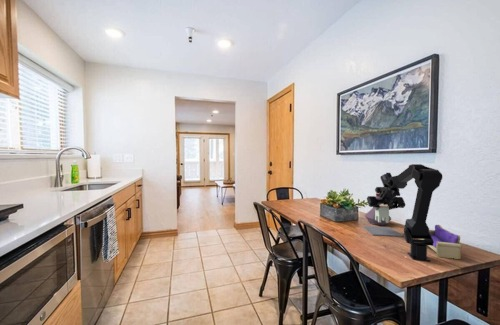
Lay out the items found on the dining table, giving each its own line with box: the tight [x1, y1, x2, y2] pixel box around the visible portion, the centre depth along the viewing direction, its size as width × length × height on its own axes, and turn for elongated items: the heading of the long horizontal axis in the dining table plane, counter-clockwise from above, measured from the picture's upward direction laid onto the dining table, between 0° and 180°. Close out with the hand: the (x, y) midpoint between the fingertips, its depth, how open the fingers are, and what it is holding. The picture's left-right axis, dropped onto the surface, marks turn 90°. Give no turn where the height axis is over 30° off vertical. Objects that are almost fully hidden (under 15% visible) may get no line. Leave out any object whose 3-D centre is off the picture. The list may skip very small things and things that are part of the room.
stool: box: [375, 204, 390, 224], centre depth 132 cm, size 5×5×10 cm
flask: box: [364, 192, 392, 226], centre depth 150 cm, size 16×16×20 cm
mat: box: [362, 225, 405, 238], centre depth 132 cm, size 16×16×1 cm
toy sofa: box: [418, 224, 462, 260], centre depth 106 cm, size 21×9×10 cm, turn 162°
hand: (380, 209), depth 133 cm, fingers closed on stool, 5 cm apart
